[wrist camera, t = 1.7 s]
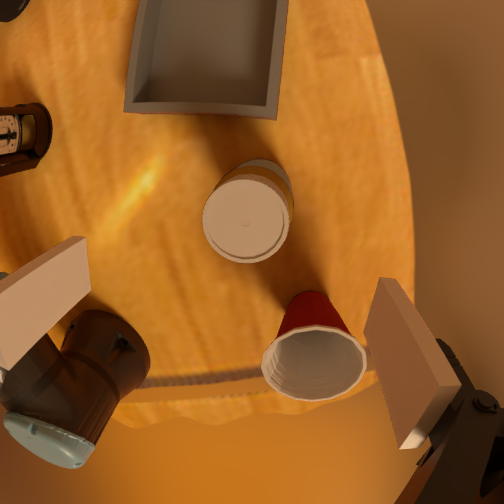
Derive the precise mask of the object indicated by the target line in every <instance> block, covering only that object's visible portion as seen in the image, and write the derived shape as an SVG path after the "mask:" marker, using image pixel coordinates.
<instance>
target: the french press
mask: <svg viewBox="0 0 504 504" xmlns="http://www.w3.org/2000/svg"><path fill="white" fill-rule="evenodd" d="M24 115H33V116H34V119H35V124H36V138H35V143H34V147H33V149H28V150H22V151H20V148H21V143H22V123H21V118H22V117H23V116H24ZM52 130H53V129H52V120H51V116H50V114H49V112H48V110H47V109H46V108H45V107H44V106H43V105H41V104H40V103H30V104H19V105H16V106H14V107H7V106H5V107H0V177H2V176H6V175H9V174H13V173H17V172H21V171H25V170H29V169H33V168H36V167H37V165H38V163H39V162H40V160H41V159H42V158H43V157H44V156H45V154H46V153H47V151H48V149H49V146H50V143H51V139H52Z"/></svg>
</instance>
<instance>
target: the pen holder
mask: <svg viewBox="0 0 504 504" xmlns="http://www.w3.org/2000/svg"><path fill="white" fill-rule="evenodd" d="M29 1H30V0H0V22H9V21H11V20H13V19H15V18H16V17H17V16H19V15H20V14H21V12H22V11H23V10H24V9H25V7H26V6H27V4H28V3H29Z"/></svg>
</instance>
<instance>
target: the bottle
mask: <svg viewBox="0 0 504 504" xmlns="http://www.w3.org/2000/svg"><path fill="white" fill-rule="evenodd" d="M293 207H294V203H293V196H292V189H291V184H290V180H289V177H288V176H287V174H286V173H285V171H284V170H283V169H282V168H281V167H280V166H279V165H278V164H276V163H274V162H272V161H269V160H266V159H254V160H250V161H247V162H245V163H243V164H242V165H240V166H238V167H237V168H235V169H234V170H232V171H231V172H229V173H228V174H226V175H225V176H224V177H223V178H222V179H221V180H220V181H219V183H218V184H217V185H216V187H215V189H214V191H213V192H212V194H211V195H210V196H209V198H208V199H207V202H206V204H205V207H204V209H203V210H204V211H203V217H202V224H203V230H204V233H205V236H206V238H207V240H208V242H209V243H210V245H211V246H212V247H213V248H214V250H215V251H217V252H218V253H219V254H220V255H222V256H223V257H225V258H227V259H229V260H231V261H235V262H239V263H255V262H259V261H262V260H264V259H266V258H268V257H270V256H271V255H273V254H274V253H275V252H276V251H278V249H279V248H280V247H281V245H282V244H283V242H284V241H285V239H286V236H287V232H288V231H289V225H290V222H291V220H292V217H293Z"/></svg>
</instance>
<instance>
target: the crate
mask: <svg viewBox="0 0 504 504" xmlns="http://www.w3.org/2000/svg"><path fill="white" fill-rule="evenodd" d="M288 3H289V0H140V1H139V5H138V10H137V15H136V21H135V26H134V32H133V38H132V44H131V51H130V58H129V65H128V73H127V81H126V91H125V101H124V112H127V113H137V114H193V115H216V116H232V117H245V118H257V119H267V120H276V121H277V111H278V102H279V93H280V83H281V73H282V64H283V54H284V44H285V34H286V24H287V14H288Z"/></svg>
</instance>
